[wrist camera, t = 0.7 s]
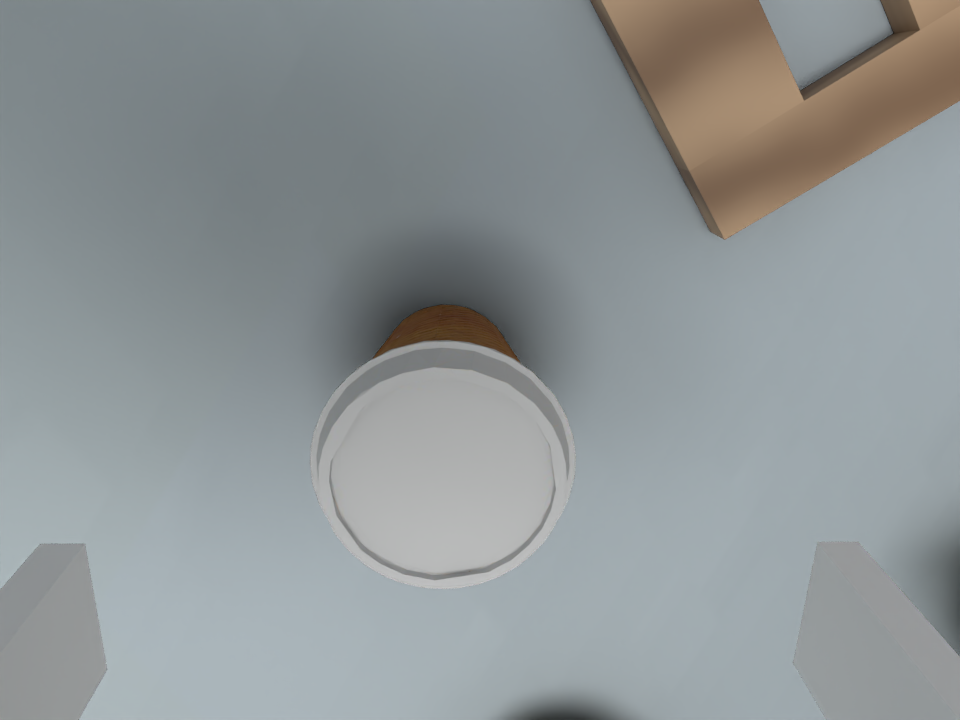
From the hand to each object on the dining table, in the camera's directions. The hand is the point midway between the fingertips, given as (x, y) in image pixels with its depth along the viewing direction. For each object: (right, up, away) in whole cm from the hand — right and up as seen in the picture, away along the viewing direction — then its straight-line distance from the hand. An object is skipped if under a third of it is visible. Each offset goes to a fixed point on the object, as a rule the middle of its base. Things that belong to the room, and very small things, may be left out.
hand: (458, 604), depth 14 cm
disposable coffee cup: (-1, +4, +24) cm, 24 cm away
